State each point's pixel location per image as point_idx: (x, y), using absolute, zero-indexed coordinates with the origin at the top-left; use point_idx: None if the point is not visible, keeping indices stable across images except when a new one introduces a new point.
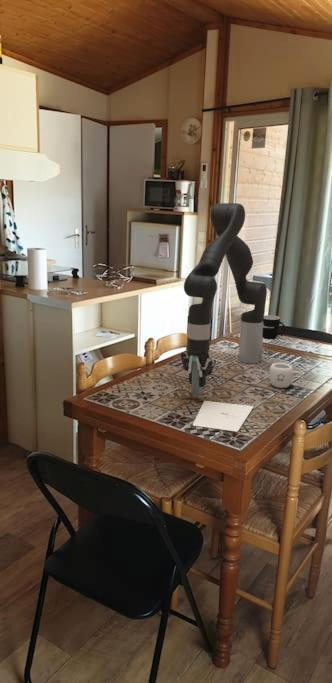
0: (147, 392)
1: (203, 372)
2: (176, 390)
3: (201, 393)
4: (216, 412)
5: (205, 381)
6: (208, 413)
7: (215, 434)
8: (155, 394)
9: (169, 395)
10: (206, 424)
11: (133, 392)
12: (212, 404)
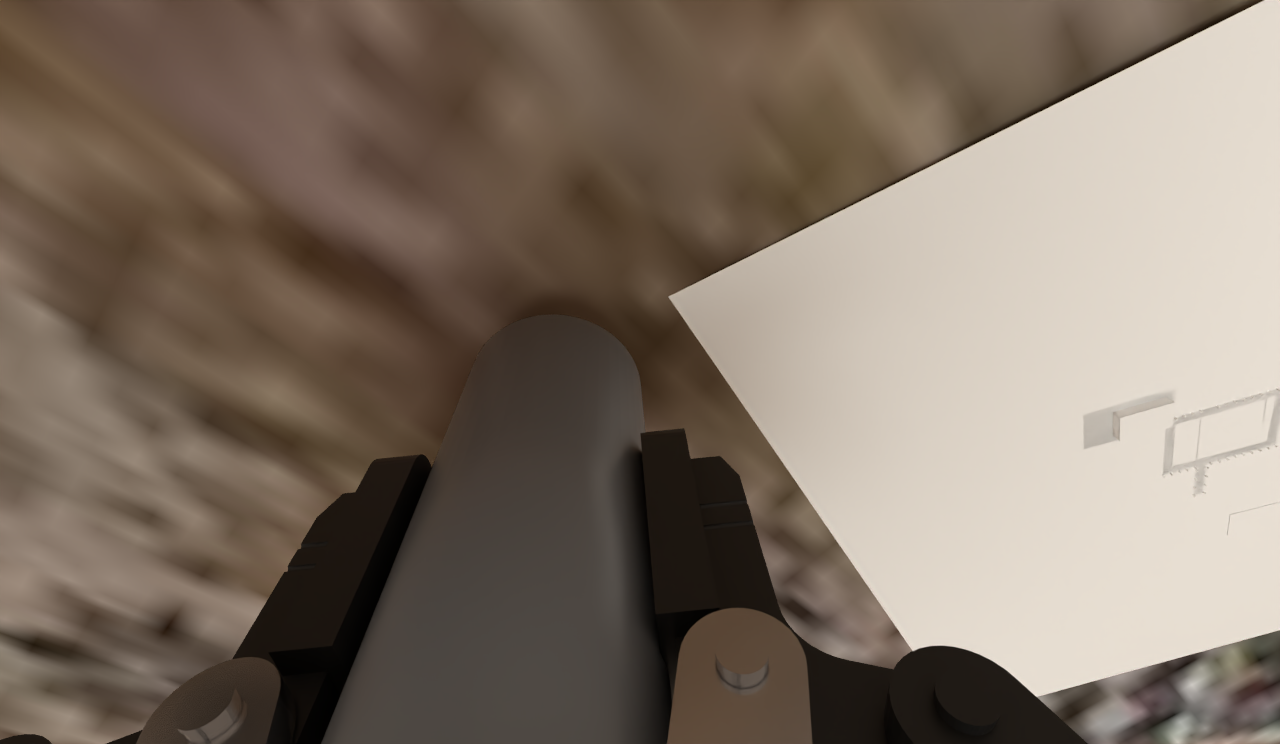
0: (53, 614)
1: (697, 740)
2: (97, 331)
3: (635, 374)
4: (1021, 453)
5: (749, 520)
6: (952, 517)
7: (1192, 696)
8: (154, 589)
9: (255, 504)
10: (1058, 659)
11: (7, 697)
12: (844, 316)
